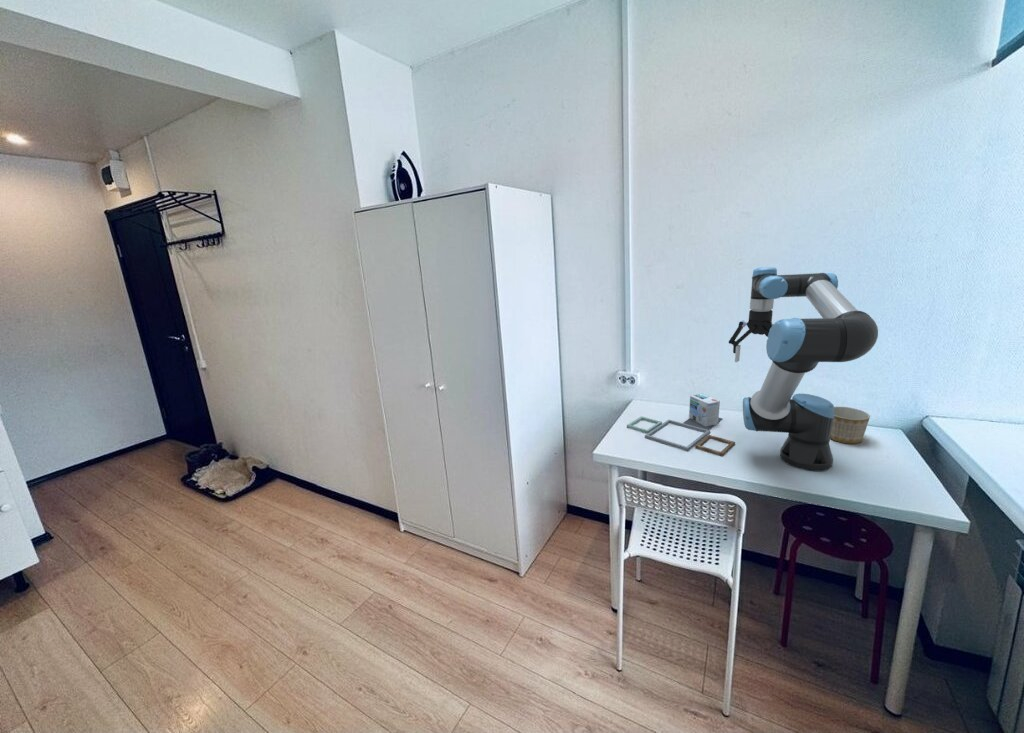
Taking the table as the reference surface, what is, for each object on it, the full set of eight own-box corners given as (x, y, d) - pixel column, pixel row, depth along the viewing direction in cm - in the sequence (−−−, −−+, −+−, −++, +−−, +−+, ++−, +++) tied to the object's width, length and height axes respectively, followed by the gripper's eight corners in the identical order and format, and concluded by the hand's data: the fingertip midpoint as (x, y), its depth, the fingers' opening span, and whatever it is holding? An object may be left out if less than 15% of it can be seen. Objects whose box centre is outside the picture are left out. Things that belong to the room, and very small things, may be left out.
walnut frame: (735, 444, 157) (735, 441, 157) (722, 456, 149) (722, 453, 149) (708, 437, 164) (708, 434, 164) (695, 448, 157) (695, 445, 156)
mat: (722, 419, 179) (722, 418, 179) (708, 430, 170) (708, 430, 169) (697, 413, 187) (697, 412, 187) (682, 424, 178) (682, 423, 177)
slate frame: (710, 433, 168) (710, 430, 167) (687, 451, 155) (687, 448, 155) (668, 421, 181) (668, 419, 180) (644, 437, 168) (644, 435, 168)
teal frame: (661, 424, 179) (662, 421, 178) (647, 433, 171) (647, 431, 171) (641, 418, 186) (641, 416, 186) (626, 427, 178) (626, 424, 178)
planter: (858, 449, 147) (863, 422, 145) (817, 437, 157) (821, 412, 154) (869, 438, 154) (874, 412, 152) (829, 427, 164) (833, 403, 161)
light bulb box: (688, 418, 182) (689, 395, 179) (700, 415, 184) (701, 392, 181) (706, 427, 172) (707, 403, 169) (718, 424, 174) (720, 400, 171)
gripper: (803, 310, 146) (796, 366, 152) (729, 306, 164) (725, 357, 170) (797, 313, 141) (790, 371, 147) (722, 309, 159) (718, 361, 165)
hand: (755, 364), depth 159 cm, fingers open, 13 cm apart
